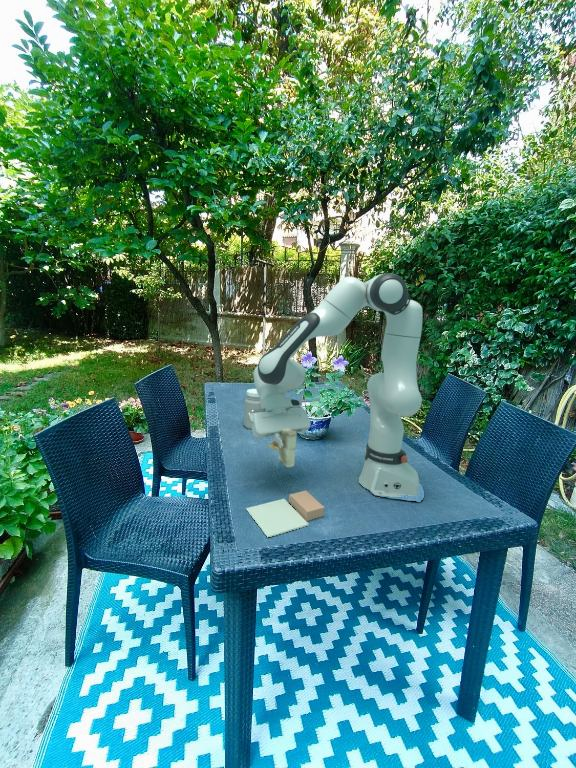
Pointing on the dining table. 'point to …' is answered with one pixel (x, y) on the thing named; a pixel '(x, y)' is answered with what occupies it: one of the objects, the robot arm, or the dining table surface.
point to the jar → (251, 405)
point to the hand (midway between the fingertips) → (288, 446)
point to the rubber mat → (276, 517)
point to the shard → (274, 446)
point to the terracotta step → (306, 505)
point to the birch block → (287, 447)
